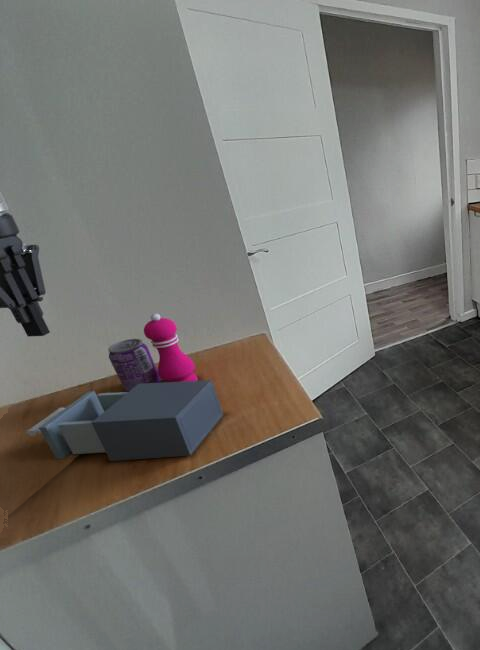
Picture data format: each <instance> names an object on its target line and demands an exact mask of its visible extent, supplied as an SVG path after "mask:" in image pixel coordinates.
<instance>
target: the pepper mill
mask: <svg viewBox="0 0 480 650" xmlns="http://www.w3.org/2000/svg"><path fill="white" fill-rule="evenodd" d="M177 330H178V326H177V325H176V323H175V322H174V321H173V320H172V319H170V318H167V317H161V315H160V314H159V313H153V314H151V315H150V320H149V321H148V322H147V323H146V324H145V325H144V327H143V334H144V336H145V337H146V338H147V339H148V340H151V341H150V343H151V345H152V347H153V348H154V349H156V350H157V353H158V355H159V356H158V357H159V360H158V364H157V370H158V375H159V377H160V378H161V380H162V381H165V382H185V381H198V376H197V374H196V372H195V369H196V364H195V363H194V361H193V360H192V359H191V358H190V357H189V356H188V355H187V354H185V352H183V351H182V349H181V348H180V347H179V343H178V341H180V340H179V337H178V334H177Z"/></svg>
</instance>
